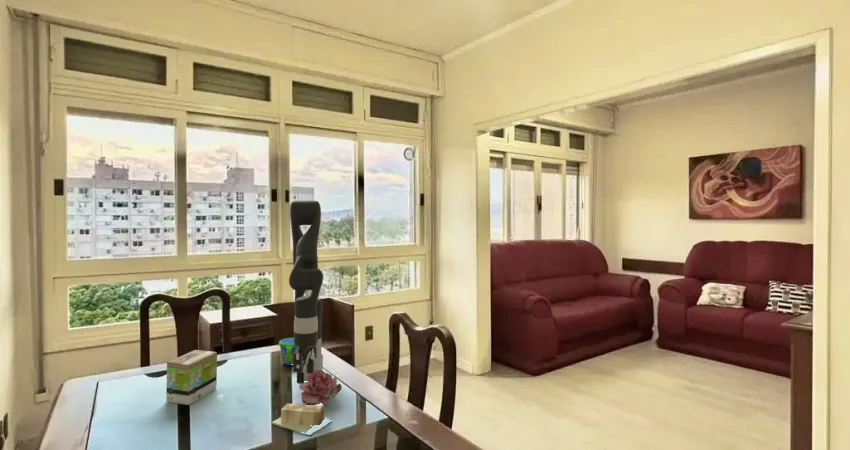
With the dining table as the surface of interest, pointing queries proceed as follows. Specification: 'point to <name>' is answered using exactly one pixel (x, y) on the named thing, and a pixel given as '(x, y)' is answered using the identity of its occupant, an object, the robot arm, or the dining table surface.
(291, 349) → the snack cup
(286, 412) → the beech block
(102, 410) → the dining table surface
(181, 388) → the tea box
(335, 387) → the flower
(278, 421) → the felt mat
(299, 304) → the robot arm
